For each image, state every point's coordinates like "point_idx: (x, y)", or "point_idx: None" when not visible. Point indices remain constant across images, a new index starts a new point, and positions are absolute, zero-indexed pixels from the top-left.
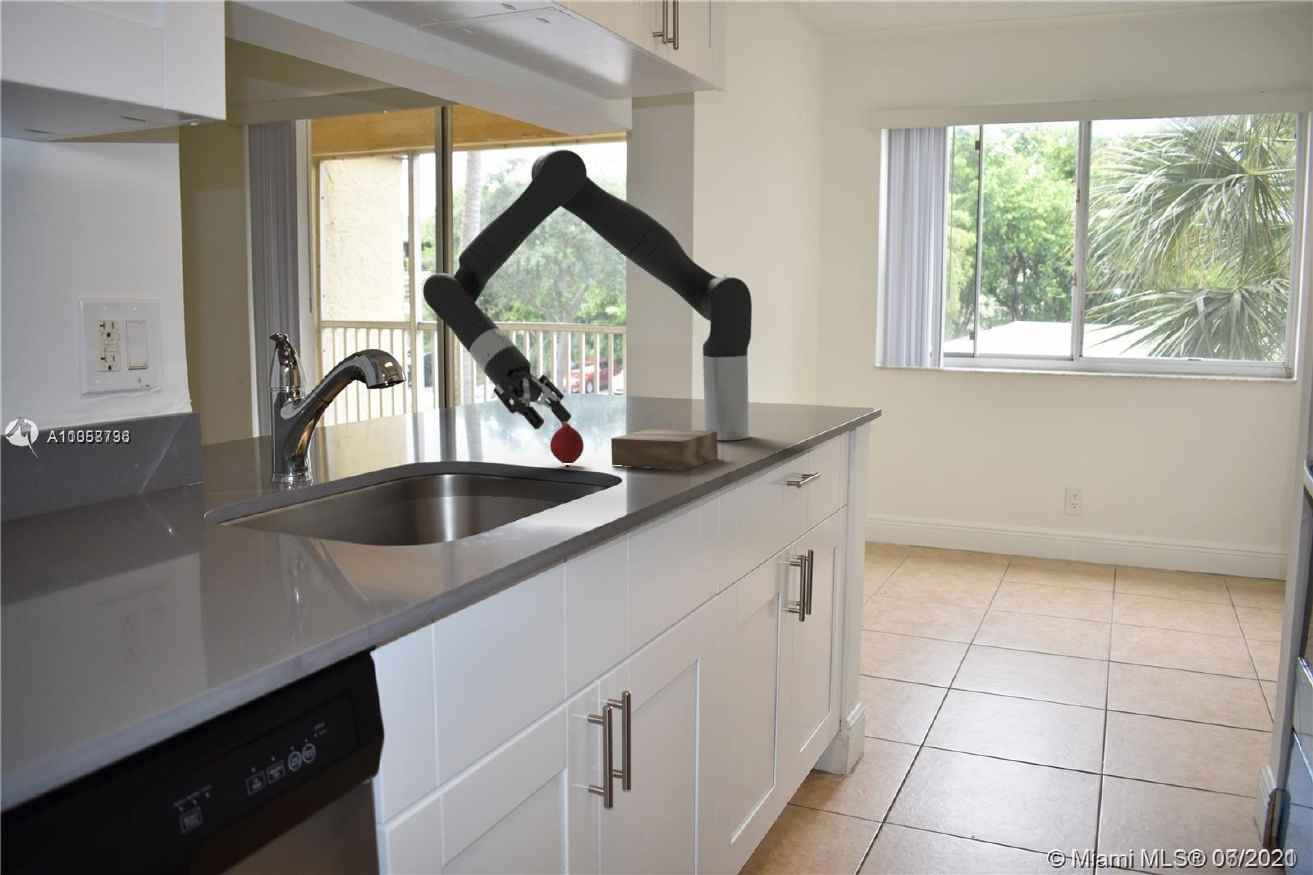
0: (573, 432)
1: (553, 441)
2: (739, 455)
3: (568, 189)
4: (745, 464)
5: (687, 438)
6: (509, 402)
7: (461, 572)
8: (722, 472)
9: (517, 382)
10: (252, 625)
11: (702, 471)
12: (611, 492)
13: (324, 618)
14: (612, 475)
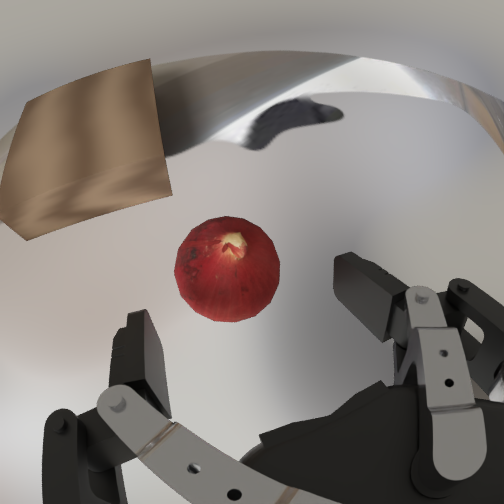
0: (228, 219)
1: (279, 273)
2: None
3: None
4: None
5: (112, 71)
6: (468, 359)
7: (458, 86)
8: None
9: (489, 441)
10: (500, 114)
11: None
12: (329, 86)
13: (486, 100)
14: (249, 136)
